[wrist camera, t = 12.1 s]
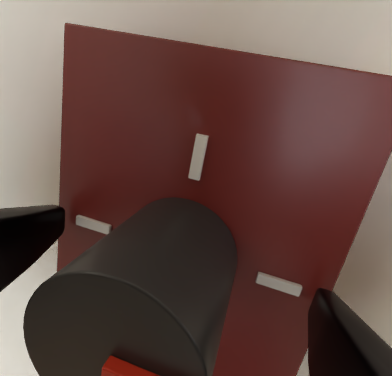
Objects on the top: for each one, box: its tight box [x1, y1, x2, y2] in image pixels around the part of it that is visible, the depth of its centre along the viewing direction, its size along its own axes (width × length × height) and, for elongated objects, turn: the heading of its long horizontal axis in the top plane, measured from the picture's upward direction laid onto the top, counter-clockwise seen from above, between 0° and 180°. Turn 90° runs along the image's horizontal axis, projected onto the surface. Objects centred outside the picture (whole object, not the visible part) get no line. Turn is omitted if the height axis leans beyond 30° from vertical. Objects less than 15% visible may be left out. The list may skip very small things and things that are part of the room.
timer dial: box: [23, 197, 238, 376], centre depth 7 cm, size 4×4×5 cm
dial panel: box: [57, 23, 392, 376], centre depth 11 cm, size 13×10×3 cm
